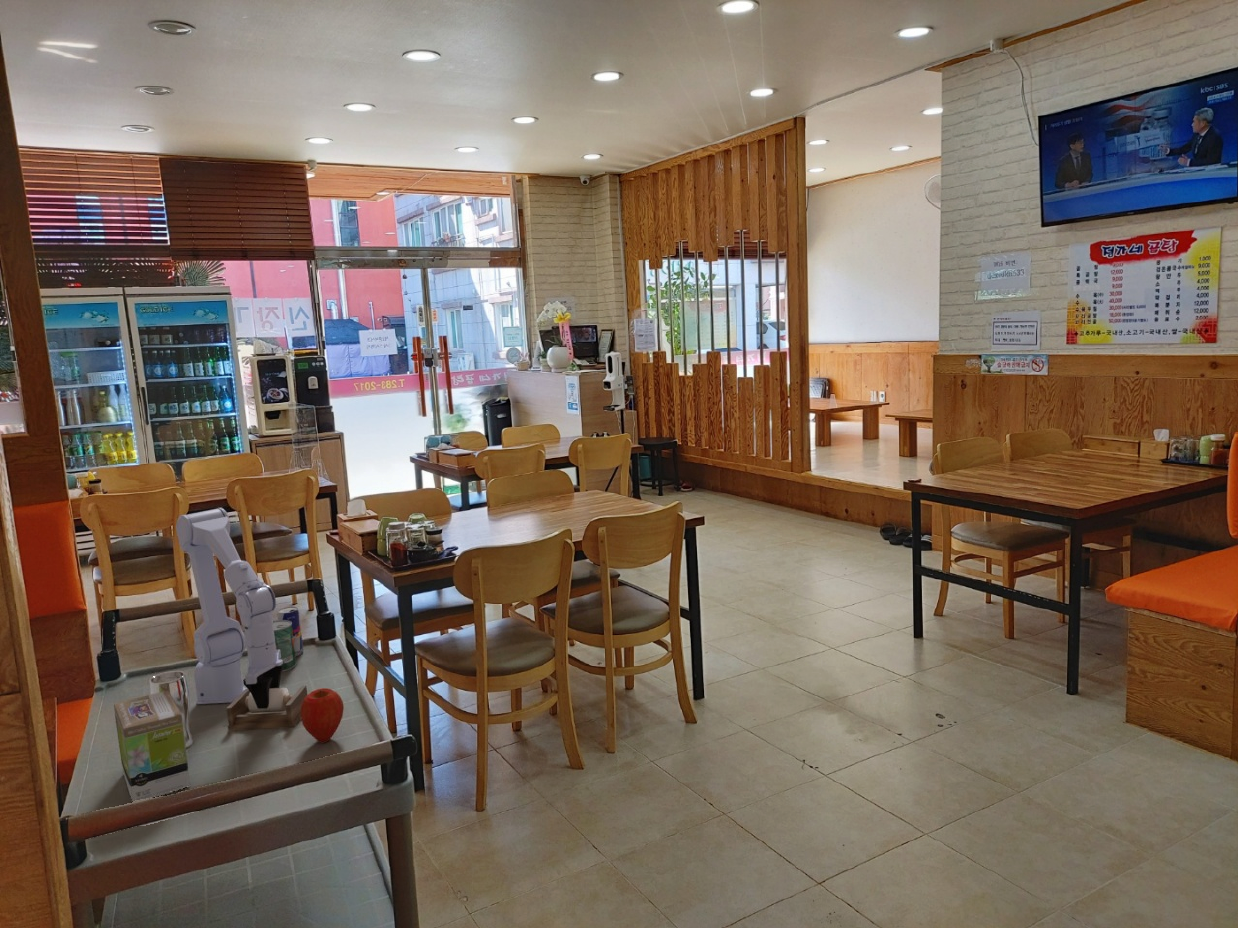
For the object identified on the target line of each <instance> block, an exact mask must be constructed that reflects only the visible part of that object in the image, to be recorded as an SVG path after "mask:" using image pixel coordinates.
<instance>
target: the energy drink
mask: <svg viewBox="0 0 1238 928" xmlns="http://www.w3.org/2000/svg"><path fill="white" fill-rule="evenodd" d="M276 616H277V621H278V620H287V621H291V622H292V629H293V639H294V648H295V657H297V656H300V655H302V654H303V652H304V645H303V636H302V635H303V634H302V627H301V618H300V617H301V616H300V611H299V608H298V607H296V606H287V607H282V608H279V609H278V610H277V614H276Z"/></svg>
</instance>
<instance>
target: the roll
mask: <svg viewBox="0 0 1238 928" xmlns="http://www.w3.org/2000/svg"><path fill="white" fill-rule="evenodd" d="M292 697H293V695H292V694H291V693H289V690H288V688H287V687H279V688H270V689H269V706H268V708H263V709H258V708H257V706H256V703H255V701H254V698H253V696H252V694H251V693H250V694H249V696H247V697H246V699H245V705H246V707H248V708H249V711H250V712H251V713H264V712H283V711H286V706H285V705H286V704H287V703H288V702H289V700H290V699H291V698H292Z"/></svg>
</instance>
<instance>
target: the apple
mask: <svg viewBox="0 0 1238 928" xmlns="http://www.w3.org/2000/svg"><path fill="white" fill-rule="evenodd" d="M300 716H301V719H300V721H301V723H302V725H303V727H304V728H305V730H306V731H307V732H308V733H309V735H310V736H312V737H313V738H314V739H315V740H316V741H317V742H319V743H327V742H328V741H329V740H331V739H332V738H333V736H334V735H335V733H336V731H337V729H338V728H339V726H340V724H341V722H342V719H343V716H344V702H343V699H342V697H341V695H340V694H339V693H337V691H335V690H333V689H330V688H326V687H325V688H318V689H316V690H313V691H311V692H310V693H309V694H308V693H307V696H306V697H305V698H304V700H303V702H302V705H301V712H300Z"/></svg>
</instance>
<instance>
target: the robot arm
mask: <svg viewBox="0 0 1238 928" xmlns="http://www.w3.org/2000/svg"><path fill="white" fill-rule="evenodd" d="M175 530H176V535H177V539H178V543H179V547H180V550H181V552H182V551H183V552H186V553H188V556H189V560H190V565H191V569H192V573H193V577H194V583H195V588H196V592H197V596H198V601H199V605H200V609H201V613H202V619H203V621H202V623H201V624H200V625H199V627H198V628H196V630H195V632H194V633H193V641H194V645H193V649H194V650H193V651H194V654H195V657H196V659H197V661H198V663H197V664H196V666H195V668H194V675H193V676H194V684H195V691H196V692H195V693H196V700H197V701H196V702H195V704H196V705H206V704H207V705H208V704H211V705H212V704H226V703H227V704H228V703H230V704H231V703H232V702H233V701H234V700H235V699H236V698H237V697H238V696H239V695H240V694H241V693H242V692H243V691H244V690H245V689H248V690H249V691H250V693H251V694H252V696H253V698H254V701H255V703H256V706H257V708H258V709H263V708H268V706H269V689H270V688H280V683H281V679H282V674H283V672H282V671H283V669H284V666H285V663H284V662H283V660H279V659H280V658H281V653H280V650H276V645H275V636H274V628H273V619H274V618H273V613H272V612H274V611H275V609H276V607H277V606H276V605H277V600H276V596H275V593H274V590H273V589H272V587H271V586H269V584H266V583H265V582H264V581H260V579H259V577H258V575H257V574H256V572H255V571H254V569H253V567H252V566H251V564H250V563H249V562H248V561H246V560H241V558H240V555H239V553H238V551H237V549H236V547H235V545H234V543H233V540H232V538H231V536H230V534H231V520H230V516H229V514H228V512H227V511H226V510H225V509H224V508H223V507H216V508H214V509H209V510H204V511H199V512H193V513H189V514H181V515H179V516H178V518H177V521H176V525H175ZM214 555H215V556H214ZM215 557H216V558H217V560H218V561H219V562H220V563H221V565H222V566H223V567H224V568H225V570H224V572H223V578H224V579H225V581H226V583H227V585H228V586H229V588H230V589H231V591H232V593H233V594H234V596H235V598H236V603H235V605H236V610H237V613H238V614H239V618H240V621H238V620H236V619H233V618H231V617H229V616H228V615H227V610H226V605H225V600H224V597H223V591H222V588H221V587H222V586H221V582H220V579H219V574H218V570H217V566H216V565H217V564H216V561H215ZM241 625H242V626H243V627H244V632H243V629H242V626H241ZM245 651H246V652H247V661H248V664H247V669H246V671H247V672H246V675H245V676H244V679H243V676H242V668H241V660H240V659H241V658H243V653H244V652H245Z"/></svg>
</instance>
